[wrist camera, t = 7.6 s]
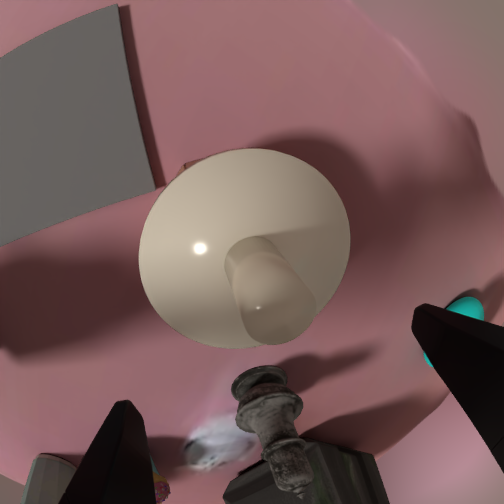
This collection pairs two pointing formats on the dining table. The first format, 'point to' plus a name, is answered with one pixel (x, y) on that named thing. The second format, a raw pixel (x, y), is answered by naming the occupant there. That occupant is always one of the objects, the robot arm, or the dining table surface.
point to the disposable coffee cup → (47, 480)
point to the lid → (244, 248)
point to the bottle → (315, 480)
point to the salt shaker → (274, 424)
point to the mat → (68, 126)
